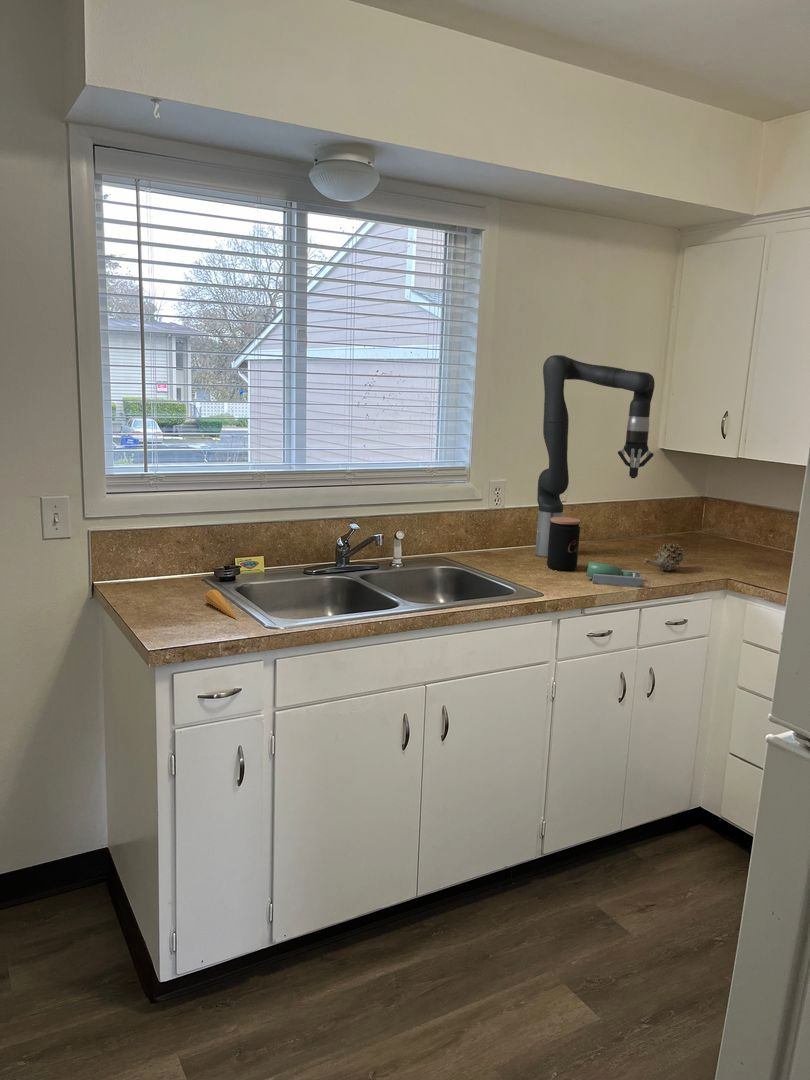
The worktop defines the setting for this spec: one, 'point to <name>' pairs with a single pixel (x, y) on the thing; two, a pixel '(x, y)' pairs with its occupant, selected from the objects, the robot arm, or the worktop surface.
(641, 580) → the cradle
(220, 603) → the carrot
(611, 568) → the bottle
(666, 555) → the pine cone
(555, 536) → the coffee jar
